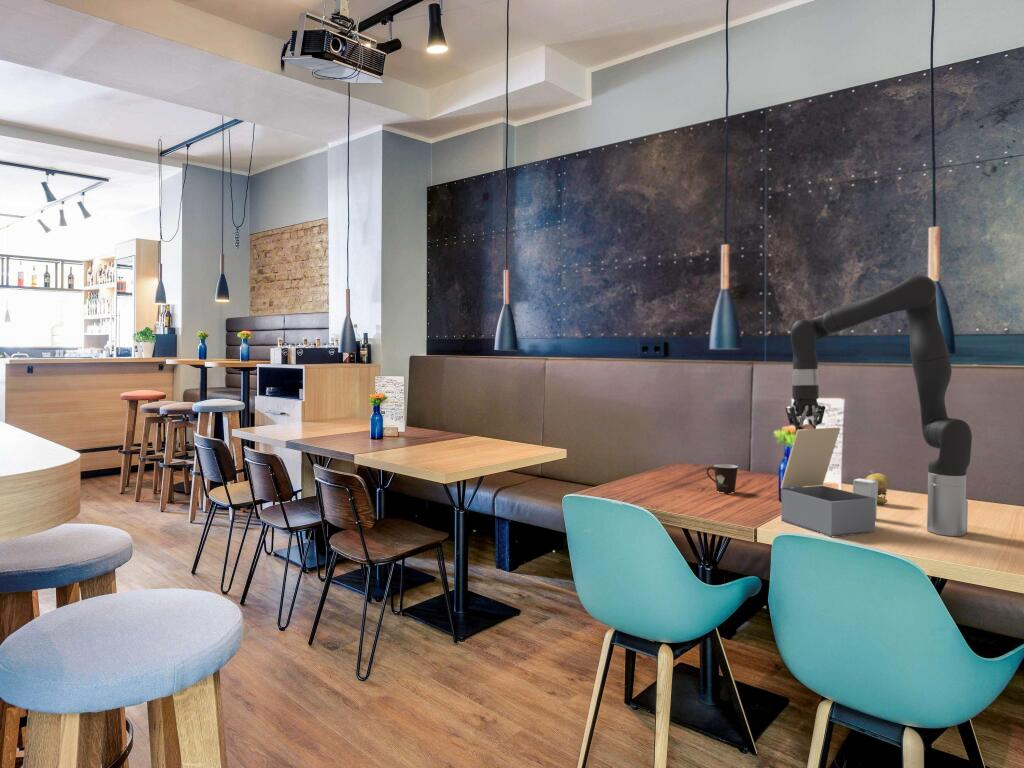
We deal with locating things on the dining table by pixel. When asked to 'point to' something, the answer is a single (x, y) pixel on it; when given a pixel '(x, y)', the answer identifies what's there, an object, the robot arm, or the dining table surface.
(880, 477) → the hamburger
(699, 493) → the dining table surface
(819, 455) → the carton flap
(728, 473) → the coffee mug
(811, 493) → the carton
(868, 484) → the skincare box
